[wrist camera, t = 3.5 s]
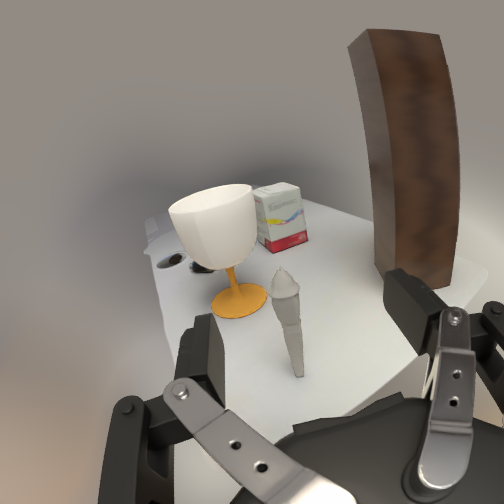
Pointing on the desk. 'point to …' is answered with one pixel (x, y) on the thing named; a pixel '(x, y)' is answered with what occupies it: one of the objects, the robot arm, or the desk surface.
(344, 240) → the desk surface
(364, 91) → the tall brown box
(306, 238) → the ink box
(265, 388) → the desk surface
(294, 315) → the grey tapered rod
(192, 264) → the camera
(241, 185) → the cup
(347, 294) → the desk surface
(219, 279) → the desk surface
